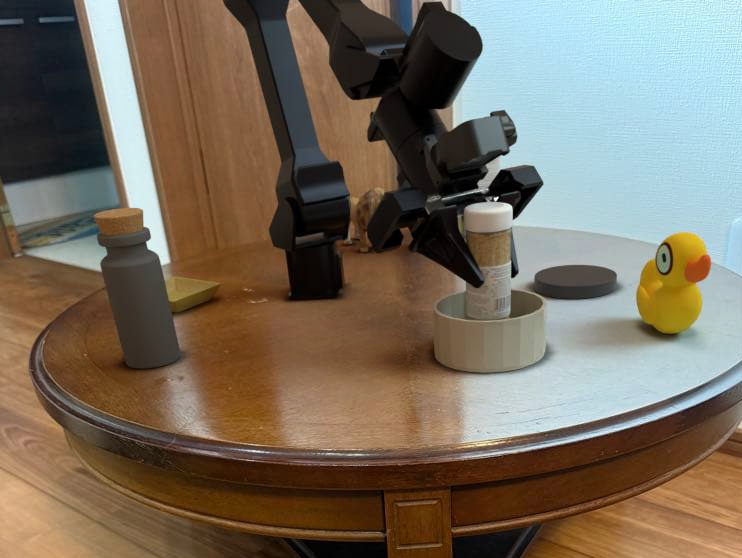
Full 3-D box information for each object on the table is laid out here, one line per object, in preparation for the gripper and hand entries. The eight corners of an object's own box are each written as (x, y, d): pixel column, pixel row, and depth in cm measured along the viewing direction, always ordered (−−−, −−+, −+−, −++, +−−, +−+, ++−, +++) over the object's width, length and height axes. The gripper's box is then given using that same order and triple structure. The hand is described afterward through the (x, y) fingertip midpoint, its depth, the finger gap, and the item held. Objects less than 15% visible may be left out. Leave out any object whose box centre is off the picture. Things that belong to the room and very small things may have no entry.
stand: (539, 300, 96) (539, 288, 95) (530, 278, 104) (530, 266, 103) (623, 296, 95) (624, 283, 95) (607, 274, 104) (608, 262, 103)
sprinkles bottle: (495, 334, 84) (496, 198, 77) (518, 347, 81) (522, 205, 73) (457, 343, 83) (454, 205, 75) (479, 356, 79) (479, 212, 72)
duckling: (721, 345, 80) (737, 240, 74) (670, 351, 79) (683, 246, 74) (667, 312, 89) (679, 218, 84) (622, 318, 88) (630, 223, 83)
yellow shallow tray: (225, 298, 105) (222, 282, 104) (176, 317, 99) (173, 300, 98) (178, 291, 109) (175, 276, 108) (129, 309, 103) (125, 293, 102)
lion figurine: (403, 250, 122) (399, 186, 117) (373, 256, 119) (368, 192, 115) (354, 235, 132) (349, 177, 128) (326, 241, 130) (319, 181, 125)
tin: (435, 375, 78) (433, 324, 75) (434, 337, 87) (432, 291, 84) (551, 369, 77) (553, 318, 74) (538, 332, 86) (539, 285, 84)
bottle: (152, 372, 83) (115, 219, 75) (114, 364, 86) (74, 216, 78) (192, 354, 87) (161, 207, 79) (154, 347, 90) (121, 205, 82)
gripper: (374, 90, 67) (463, 247, 66) (533, 71, 76) (614, 209, 75) (332, 182, 77) (409, 320, 75) (478, 155, 86) (548, 279, 84)
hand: (498, 280), depth 77 cm, fingers closed on sprinkles bottle, 4 cm apart
